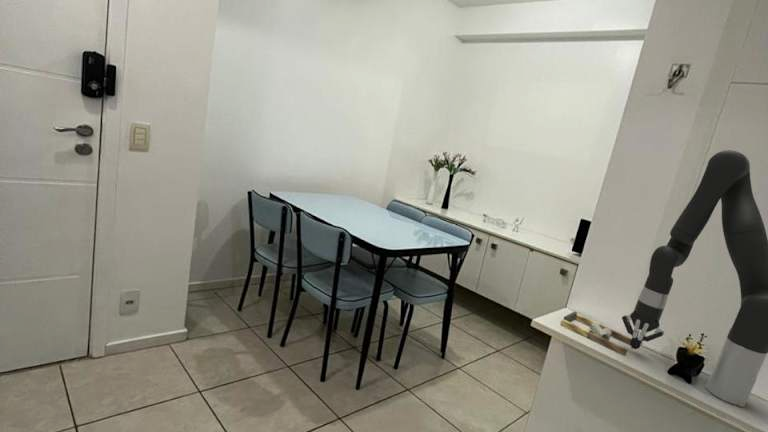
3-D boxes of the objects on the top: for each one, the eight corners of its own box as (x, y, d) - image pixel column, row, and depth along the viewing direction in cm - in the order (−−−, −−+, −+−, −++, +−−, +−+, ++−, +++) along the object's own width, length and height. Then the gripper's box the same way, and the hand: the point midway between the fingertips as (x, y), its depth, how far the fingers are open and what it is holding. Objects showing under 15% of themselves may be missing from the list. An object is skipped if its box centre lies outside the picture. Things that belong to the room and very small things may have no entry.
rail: (635, 345, 143) (638, 338, 142) (624, 356, 133) (627, 348, 133) (573, 317, 158) (576, 310, 157) (560, 324, 148) (562, 317, 147)
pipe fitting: (605, 335, 148) (588, 330, 148) (609, 326, 147) (592, 321, 147) (616, 347, 140) (597, 341, 140) (620, 337, 139) (602, 332, 140)
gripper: (676, 309, 131) (658, 355, 135) (632, 292, 140) (616, 335, 144) (672, 313, 126) (653, 361, 130) (626, 295, 135) (610, 340, 139)
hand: (633, 347), depth 137 cm, fingers closed
